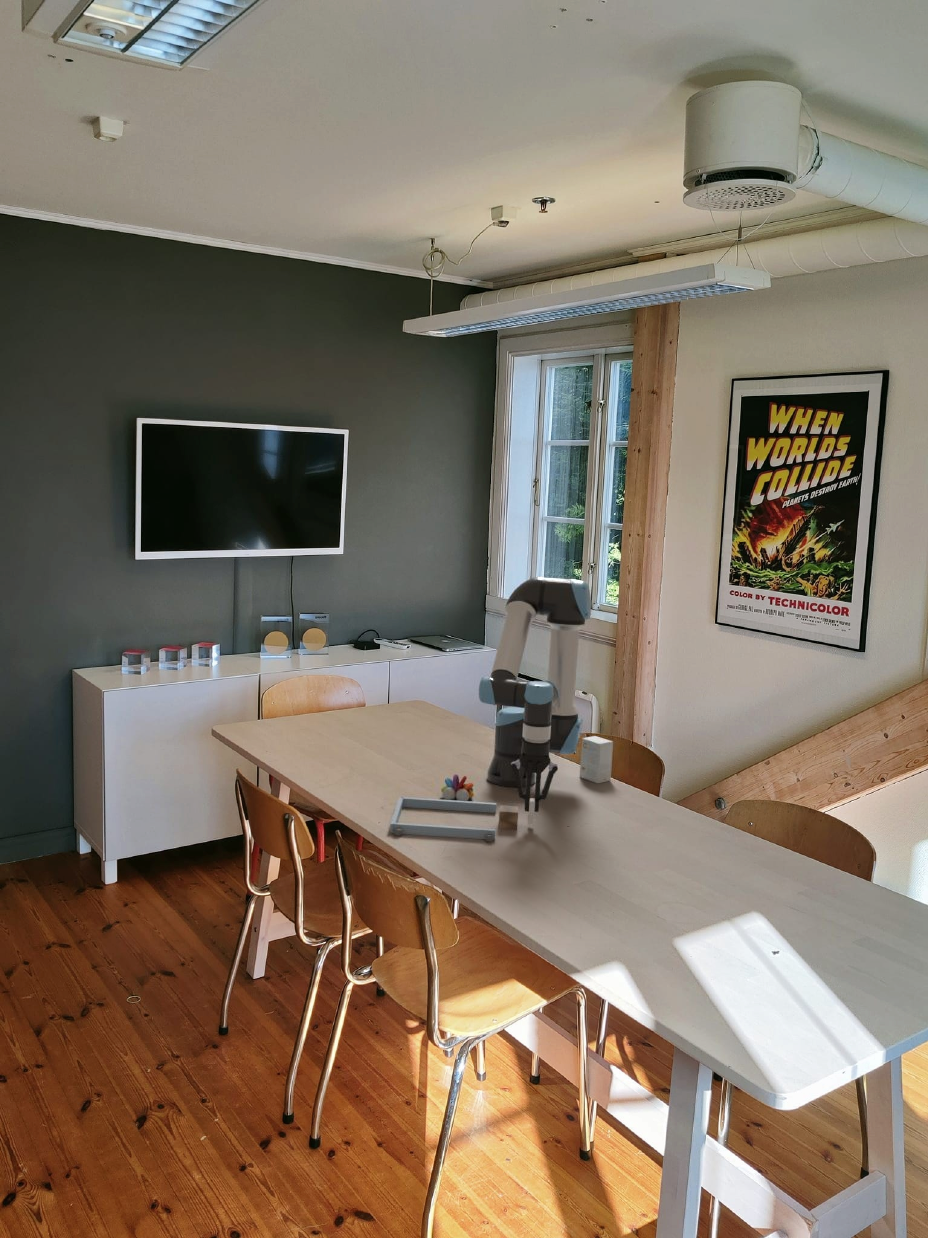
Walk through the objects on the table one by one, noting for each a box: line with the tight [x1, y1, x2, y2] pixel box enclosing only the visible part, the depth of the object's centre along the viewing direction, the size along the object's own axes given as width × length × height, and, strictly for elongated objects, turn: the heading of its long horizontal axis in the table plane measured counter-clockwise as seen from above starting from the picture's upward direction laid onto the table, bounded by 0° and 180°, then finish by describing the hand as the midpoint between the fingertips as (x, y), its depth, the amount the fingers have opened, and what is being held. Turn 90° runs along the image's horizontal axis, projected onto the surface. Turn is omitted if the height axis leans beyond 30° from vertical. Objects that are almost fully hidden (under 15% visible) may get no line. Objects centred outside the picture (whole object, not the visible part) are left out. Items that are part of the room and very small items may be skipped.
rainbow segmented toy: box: [441, 773, 475, 801], centre depth 297 cm, size 8×10×7 cm
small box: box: [579, 735, 614, 784], centre depth 323 cm, size 8×6×13 cm
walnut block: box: [498, 805, 519, 831], centre depth 276 cm, size 5×5×5 cm
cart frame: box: [389, 796, 497, 844], centre depth 277 cm, size 28×27×2 cm
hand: (530, 822), depth 276 cm, fingers closed
